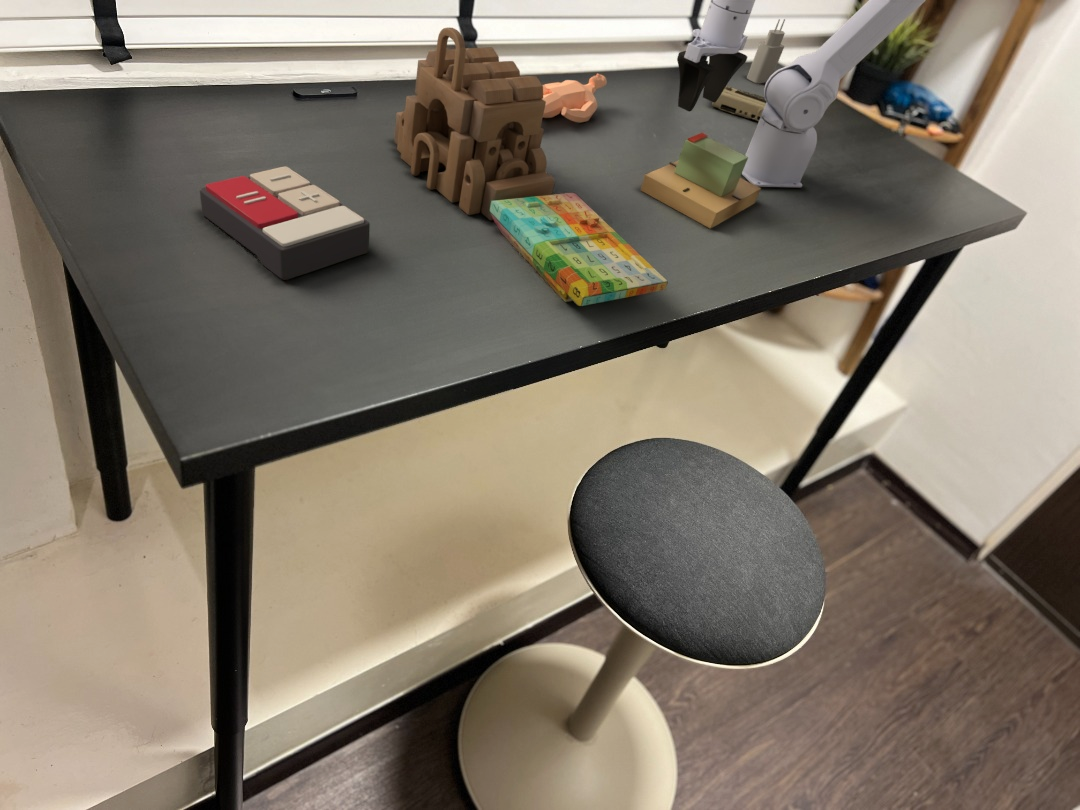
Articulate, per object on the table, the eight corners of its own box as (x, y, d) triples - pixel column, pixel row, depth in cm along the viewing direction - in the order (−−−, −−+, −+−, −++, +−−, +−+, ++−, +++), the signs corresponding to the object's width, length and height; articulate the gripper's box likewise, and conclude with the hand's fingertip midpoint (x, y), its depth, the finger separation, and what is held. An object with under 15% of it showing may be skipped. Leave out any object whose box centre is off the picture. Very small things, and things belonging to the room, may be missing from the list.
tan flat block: (687, 168, 121) (693, 152, 119) (755, 203, 116) (762, 187, 114) (639, 190, 111) (644, 172, 110) (711, 229, 107) (717, 212, 105)
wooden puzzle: (560, 207, 103) (596, 63, 90) (470, 226, 94) (496, 70, 82) (464, 132, 113) (485, -5, 101) (376, 144, 105) (387, -5, 93)
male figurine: (471, 88, 117) (582, 58, 131) (468, 120, 121) (576, 87, 135) (520, 118, 113) (629, 84, 127) (516, 150, 116) (623, 113, 130)
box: (735, 189, 112) (749, 155, 109) (721, 197, 109) (734, 162, 106) (689, 165, 115) (701, 131, 112) (674, 172, 112) (685, 138, 109)
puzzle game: (573, 185, 97) (670, 274, 86) (564, 218, 100) (657, 309, 89) (492, 193, 91) (585, 290, 80) (485, 228, 94) (574, 326, 83)
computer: (795, 120, 148) (802, 103, 146) (792, 134, 142) (800, 117, 140) (716, 94, 149) (722, 77, 147) (710, 107, 143) (716, 89, 141)
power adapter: (745, 77, 161) (768, 16, 154) (760, 75, 165) (783, 15, 157) (756, 83, 160) (780, 22, 152) (771, 81, 163) (795, 21, 155)
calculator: (287, 161, 89) (371, 216, 83) (288, 196, 92) (370, 252, 85) (196, 181, 82) (281, 243, 75) (201, 218, 85) (283, 281, 78)
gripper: (729, -8, 112) (698, 85, 121) (680, 0, 103) (649, 101, 112) (772, 9, 110) (736, 103, 119) (725, 19, 100) (690, 121, 109)
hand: (697, 104), depth 115 cm, fingers open, 7 cm apart
